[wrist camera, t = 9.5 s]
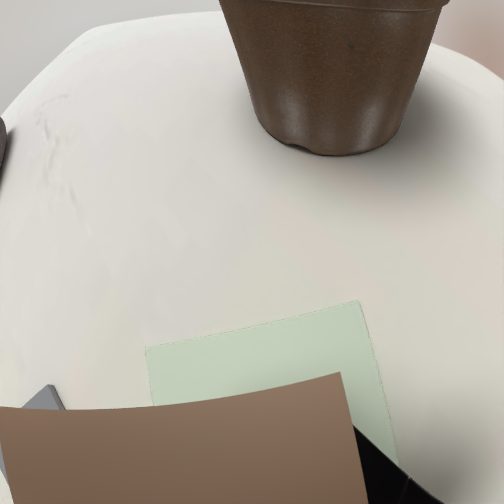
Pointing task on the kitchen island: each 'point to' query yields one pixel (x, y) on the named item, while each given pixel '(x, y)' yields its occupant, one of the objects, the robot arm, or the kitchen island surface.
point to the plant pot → (331, 66)
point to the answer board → (279, 365)
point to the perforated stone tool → (2, 140)
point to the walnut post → (190, 451)
